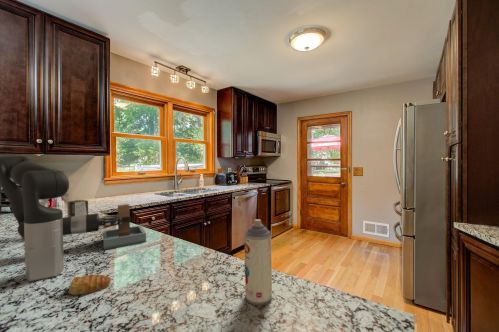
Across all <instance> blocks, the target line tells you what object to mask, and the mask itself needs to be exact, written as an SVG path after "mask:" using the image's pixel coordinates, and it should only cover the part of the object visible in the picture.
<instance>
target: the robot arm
mask: <svg viewBox="0 0 499 332" xmlns="http://www.w3.org/2000/svg"><path fill="white" fill-rule="evenodd" d="M0 186H1V188H2V191H3V192H4V194H5V195H6V197H7V199H8V201H9V204H10V207H11V208H10V209H11V210H12V214H13V216H14V219H15V220H16V221H17V223H18V227H17V232H18V234H19V235H20V237H21V239H22V240H24V267H25V268H24V269H25V272H24V273H25V280H28V282H33V281H38V280H42V279H47V278H51V277H56V275H57V274H60V273H62V272H63V271H64V269H65V265H64V264H65V261H64V259H65V258H64V257H65V256H64V236H68V235H77V234H78V235H79V234H85V233H86V234H87V233H93V232H98V231H99V230H100V227H104V228H110V227H114V226H118V225H120V224H122V223H126V222H130V223H131V222H132V217H131V216H130V217H124V218H118V214H112V215H111V214H110V215H104V216H102V217H100V216H99V214H98V213H88V215H79V216H74V217H68V216H67V217H64V214H63V209H60V208H56V207H49V206H47V207H45V206H43V205H41V204H40V203H39V200H40V199H49V200H50V199H54V198H56V199H57V198H61V196H63V195H65V194H66V193H68V191H69V189H70V181H69V177H68V176H67V175H66V174H65V172H63V171H61V170H56V169H50V168H48V167H45V166H44V165H41V164H39V163H37V162H34V161H32V160H31V159H30V158H29V157H27V156H26V155H9V156H8V155H7V156H0Z"/></svg>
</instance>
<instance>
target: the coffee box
mask: <svg viewBox="0 0 499 332" xmlns="http://www.w3.org/2000/svg"><path fill="white" fill-rule="evenodd" d="M66 205H67V207H66V208H67V217H74V216H79V215H88V214H89V200H86V199H77V200H76V199H75V200H70V201H68V200H67V202H66Z"/></svg>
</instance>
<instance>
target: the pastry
mask: <svg viewBox="0 0 499 332" xmlns="http://www.w3.org/2000/svg"><path fill="white" fill-rule="evenodd" d="M111 281H112V278H111V277H109V276H107V275H100V274H93V273H91V274H88V275H87V274H83V275H81V276H75V277H73V278H72V279H71V282H70V284H69V288H68V294H69V295H72V296H78V295H87V294H91V293H92V294H93V293H95V291H96V292H98V291H102V290H103V289H106V288H108V287H109V286H110V285H111Z"/></svg>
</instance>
